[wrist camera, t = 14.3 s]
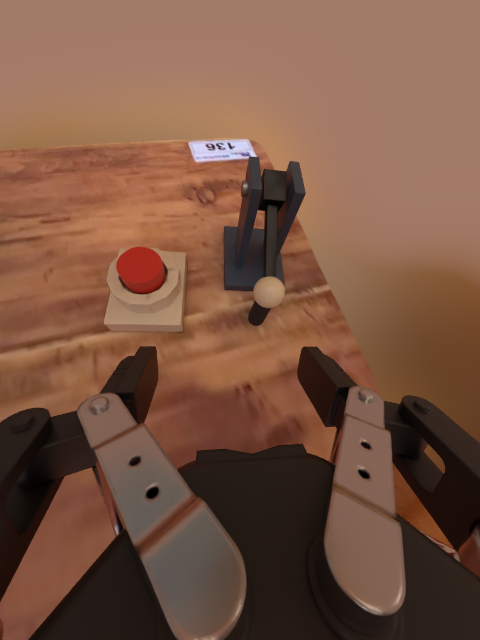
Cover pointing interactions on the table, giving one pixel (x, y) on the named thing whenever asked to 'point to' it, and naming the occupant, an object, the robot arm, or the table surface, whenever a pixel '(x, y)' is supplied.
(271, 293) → the switch lever
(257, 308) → the rest post
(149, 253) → the power button
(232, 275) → the switch bracket
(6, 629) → the table surface
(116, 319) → the control box
